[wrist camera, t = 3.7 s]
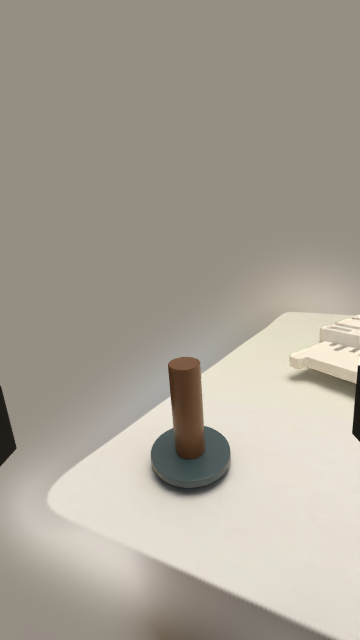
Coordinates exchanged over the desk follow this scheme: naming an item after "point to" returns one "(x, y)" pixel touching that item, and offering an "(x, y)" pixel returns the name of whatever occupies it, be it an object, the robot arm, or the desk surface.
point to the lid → (189, 434)
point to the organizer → (333, 351)
